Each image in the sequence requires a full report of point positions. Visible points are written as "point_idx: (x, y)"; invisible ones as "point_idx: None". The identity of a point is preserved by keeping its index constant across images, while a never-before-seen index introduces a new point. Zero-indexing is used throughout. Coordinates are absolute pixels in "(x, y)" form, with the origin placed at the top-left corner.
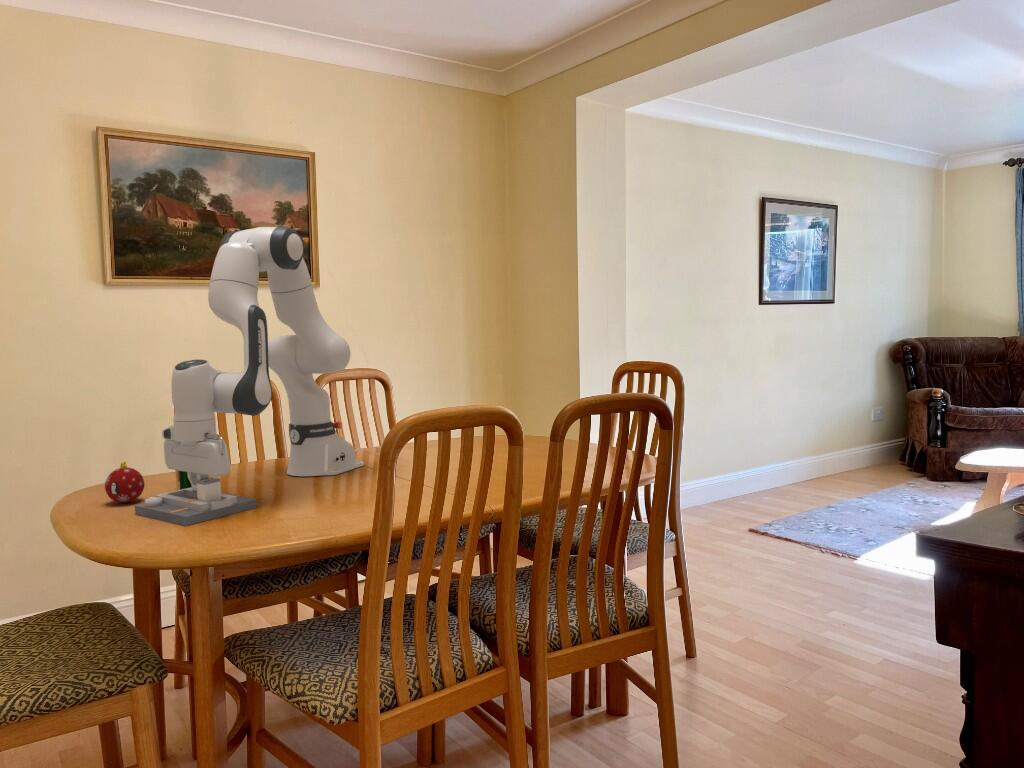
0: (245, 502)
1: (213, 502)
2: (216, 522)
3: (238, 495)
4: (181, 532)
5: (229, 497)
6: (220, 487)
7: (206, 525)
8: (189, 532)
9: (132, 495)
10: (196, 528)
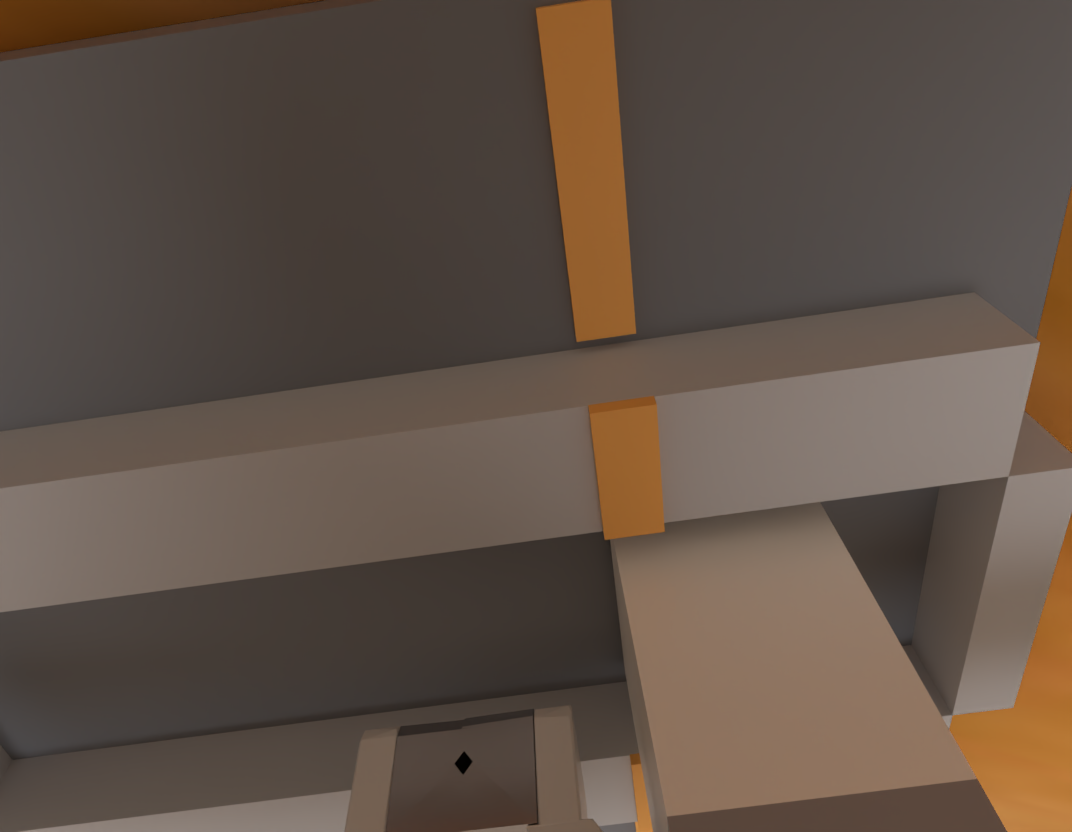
0: (1066, 170)
1: (990, 687)
2: (1052, 586)
3: (559, 20)
4: (998, 810)
5: (981, 460)
6: (910, 665)
7: (1037, 665)
8: (1061, 784)
9: None
10: (1025, 731)
